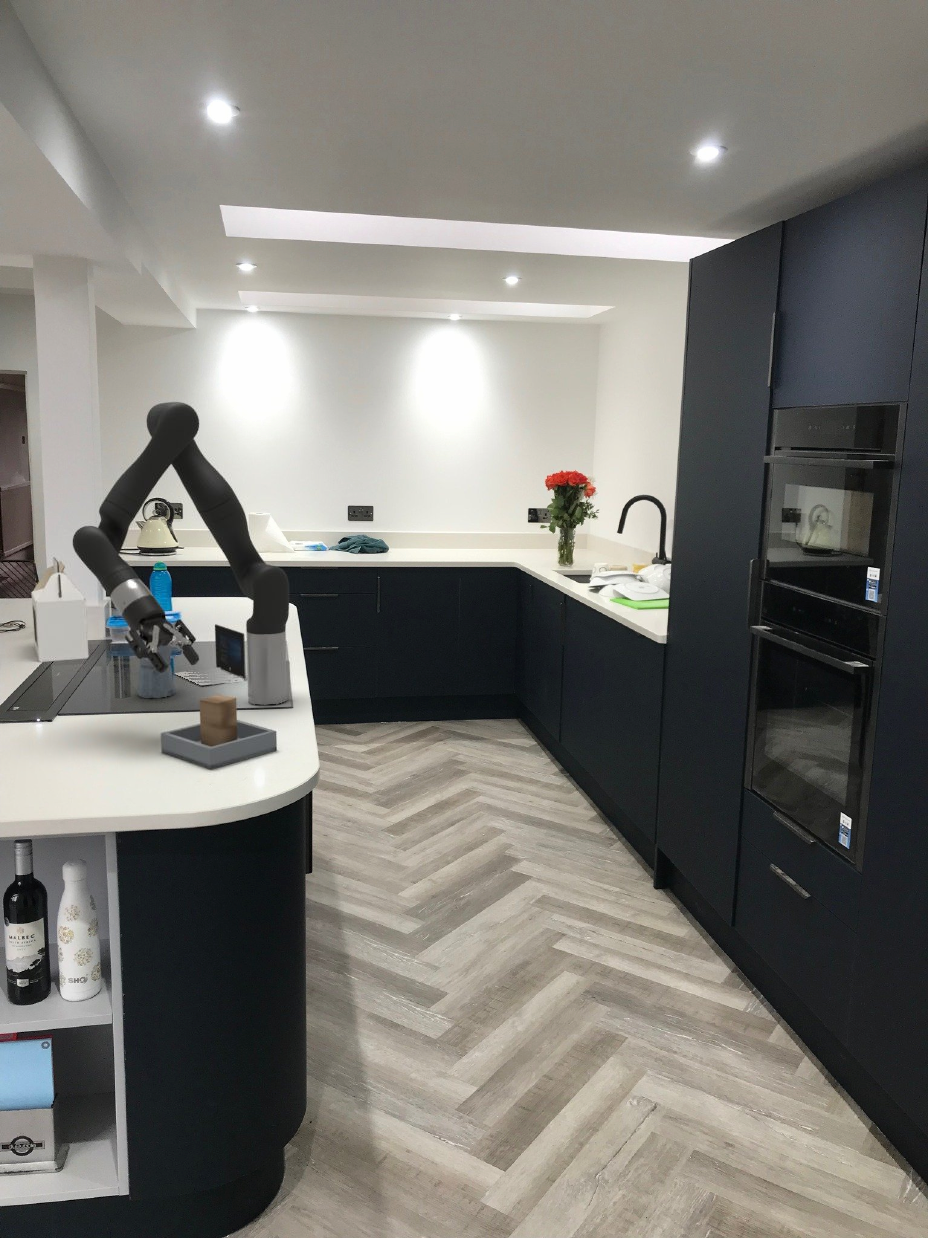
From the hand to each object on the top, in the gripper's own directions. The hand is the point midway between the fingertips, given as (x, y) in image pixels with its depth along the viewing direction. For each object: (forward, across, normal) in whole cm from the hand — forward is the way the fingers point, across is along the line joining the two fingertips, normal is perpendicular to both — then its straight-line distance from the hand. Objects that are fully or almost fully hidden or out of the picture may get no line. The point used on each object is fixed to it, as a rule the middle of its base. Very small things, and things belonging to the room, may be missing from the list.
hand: (180, 666), depth 192 cm
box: (+18, 0, +5) cm, 19 cm away
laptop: (-15, +47, +39) cm, 63 cm away
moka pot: (-14, +26, +37) cm, 48 cm away
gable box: (-57, +48, +80) cm, 109 cm away
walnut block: (+18, 0, +4) cm, 18 cm away
